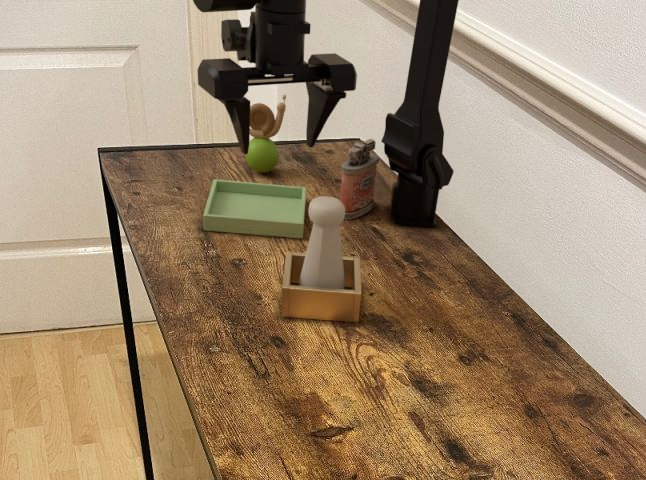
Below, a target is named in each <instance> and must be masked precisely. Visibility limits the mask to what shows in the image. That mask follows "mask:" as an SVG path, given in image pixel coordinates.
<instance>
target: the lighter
mask: <svg viewBox="0 0 646 480" xmlns="http://www.w3.org/2000/svg"><path fill="white" fill-rule="evenodd" d="M375 140H376V139H373V138H369V139H366V140H365V141H362V143H361V142H358V141H356V142H355V143H354V144H353V146H352V147H351V148H349V149H348V159H346V160H345V161H343V162H342V164H340V165H341V167H340V171H341V183H340V196H339V200H340V201H341V202H342V203H343V205H344V207H345V217H344V220H352V219H355V218H358V217H361V216H363V215H365V214H367V213H368V212H370V211H371V210H372V208H374V206H375V198H374V195H375V185H376V177H377V167H378V164H379V161H380V160H379V159H380V157H379V155H377V154H376V153H371V152H372V151H374V150H376V144H377V143H376V141H375Z"/></svg>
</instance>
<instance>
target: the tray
mask: <svg viewBox="0 0 646 480" xmlns="http://www.w3.org/2000/svg"><path fill="white" fill-rule="evenodd" d="M306 202H307V187H306V186H304V187H303V186H295V185H285V184H284V185H283V184H272V183H262V182H251V181H250V182H248V181H237V180H229V179H217V178H214V179H213V180H212V184H211V187H210V190H209V194H208V198H207V201H206V204H205V207H204V210H203V213H202V222H203V224H202V225H203V226H202V227H203V231H209V232H221V233H230V234H231V233H233V234H244V235H254V236H255V235H256V236H266V237H267V236H269V237H279V238H292V239H304V229H305V217H306V215H305V214H306Z"/></svg>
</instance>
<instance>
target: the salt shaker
mask: <svg viewBox="0 0 646 480" xmlns="http://www.w3.org/2000/svg"><path fill="white" fill-rule="evenodd" d="M308 217H309V220H310V221H311V222H312V223H313V224H312V228H311V232H310V236H309V241H308V244H307V248H306V252H305V253H306V256H305V260H304V264H303V267H302V271H301V275H300V279H299V283H298V286H306V287H318V288H331V289H344V290H345V288H346V287H345V279H344V268H343V258H342V256H343V249H342V248H343V247H342V239H341V228H340V227H341V226H340V225H341V224H342V223H343V222H344V220H345V219H344V217H345V207H344V205H343V203H342V202H341V201H340V199H339V198H336V197H333V196H327V195H323V196H317V197H314V198H313V199H312V200H311V201H310V202H309V205H308Z"/></svg>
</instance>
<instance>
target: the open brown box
mask: <svg viewBox="0 0 646 480" xmlns="http://www.w3.org/2000/svg"><path fill="white" fill-rule="evenodd" d="M305 256H306V252H297V251H286V252H285V258H284V259H285V260H284V269H283V278H282V287H281V290H282V291H281V317H282V318H292V319H293V318H294V319H307V320H320V321H331V322H332V321H334V322H345V323H359V322H360V313H361V304H362V275H361V273H362V272H361V257H360V256H359V257H357V256H344V255H342V258H343V268H344V279H345V287H344V289H331V288H318V287H306V286H300V285H293V284H299V279H300V275H301V271H302V267H303V264H304V260H305ZM345 288H349V289H345ZM350 288H351V289H350Z"/></svg>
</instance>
